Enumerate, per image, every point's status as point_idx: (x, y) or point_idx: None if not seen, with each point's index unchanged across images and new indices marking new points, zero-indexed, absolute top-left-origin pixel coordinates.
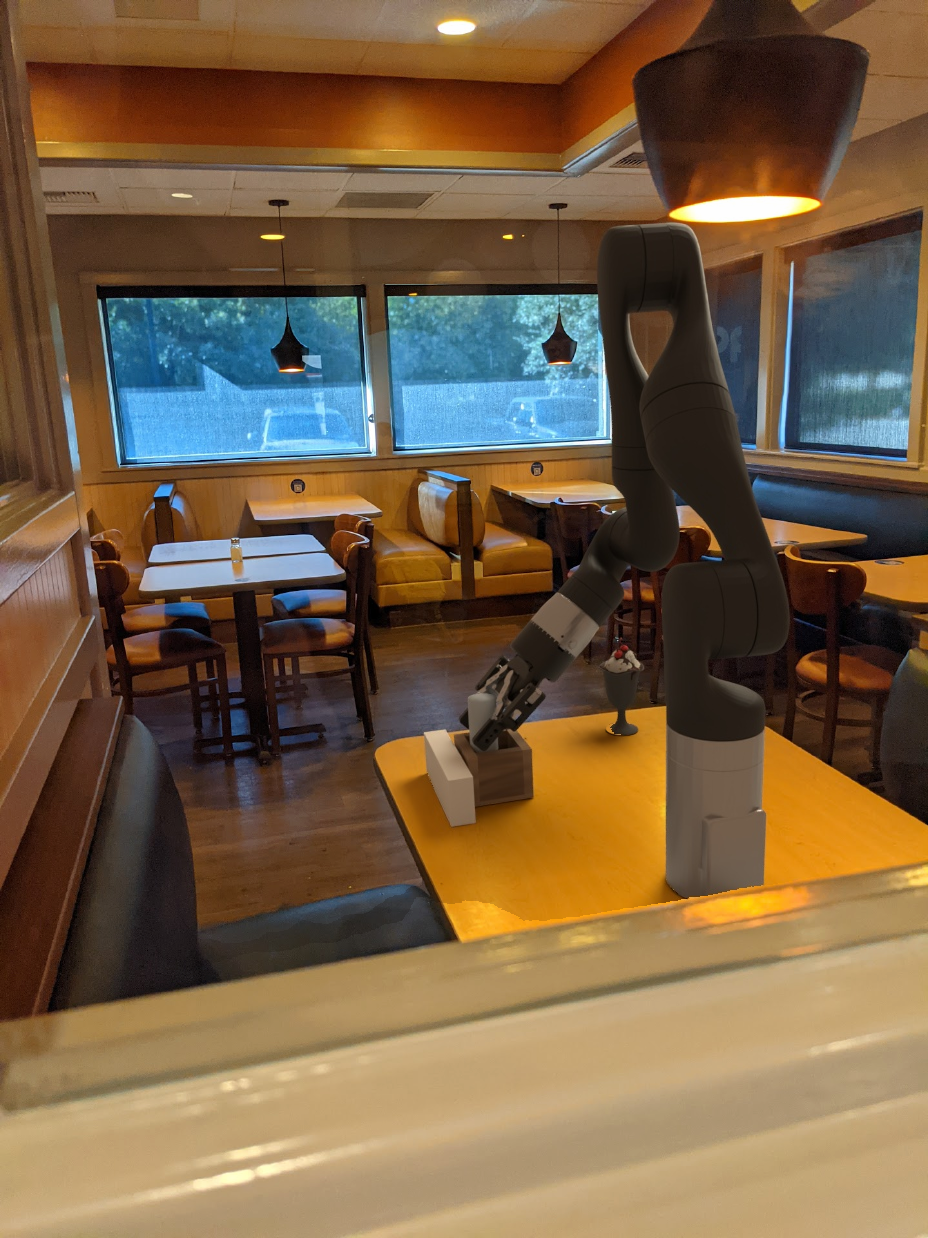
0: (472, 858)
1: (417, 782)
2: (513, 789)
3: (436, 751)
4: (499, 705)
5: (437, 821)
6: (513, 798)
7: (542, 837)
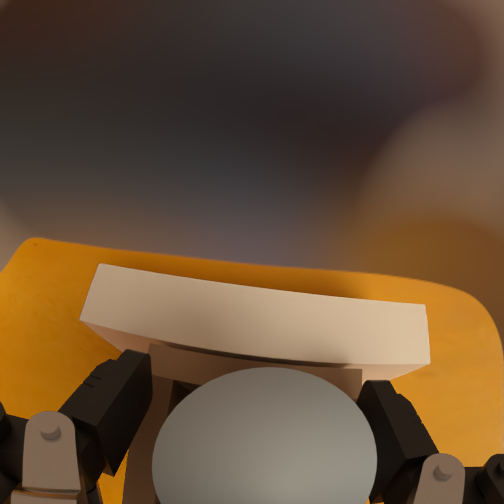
0: (46, 297)
1: None
2: None
3: (286, 298)
4: (54, 484)
5: None
6: None
7: None
